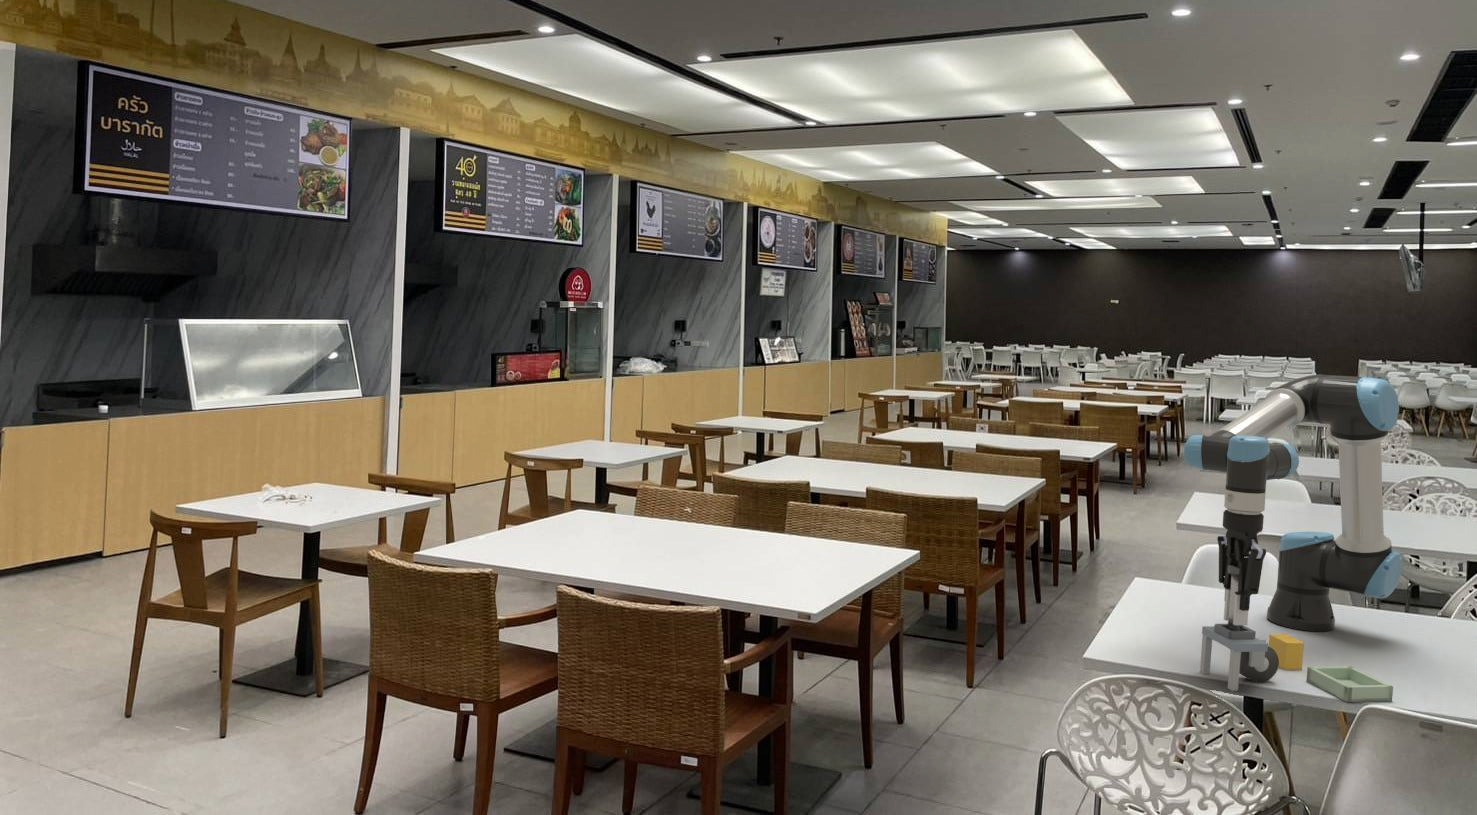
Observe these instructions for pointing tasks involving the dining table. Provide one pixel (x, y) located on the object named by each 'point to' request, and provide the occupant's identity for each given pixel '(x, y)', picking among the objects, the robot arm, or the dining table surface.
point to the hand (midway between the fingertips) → (1235, 622)
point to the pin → (1233, 596)
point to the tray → (1349, 684)
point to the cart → (1240, 654)
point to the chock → (1287, 651)
